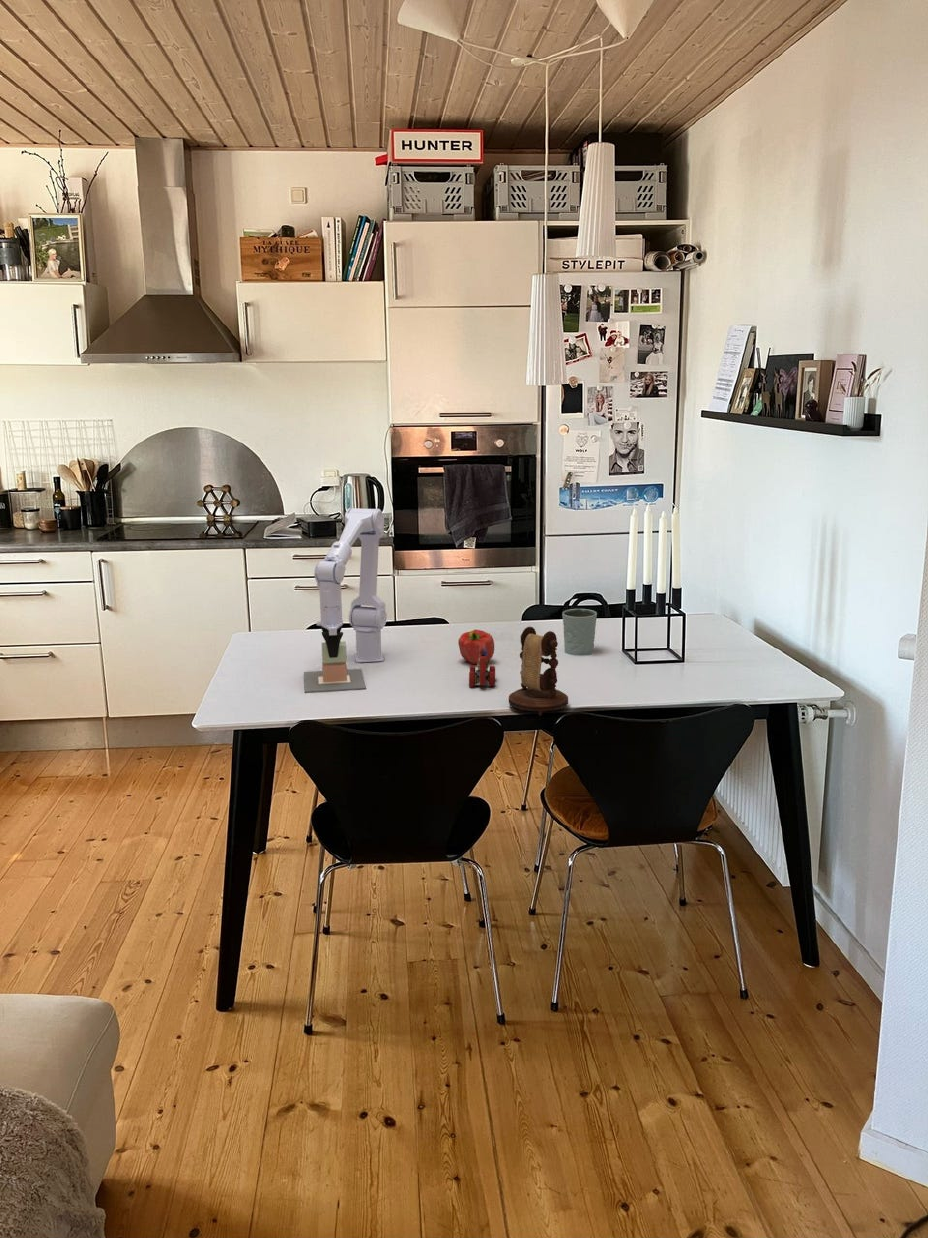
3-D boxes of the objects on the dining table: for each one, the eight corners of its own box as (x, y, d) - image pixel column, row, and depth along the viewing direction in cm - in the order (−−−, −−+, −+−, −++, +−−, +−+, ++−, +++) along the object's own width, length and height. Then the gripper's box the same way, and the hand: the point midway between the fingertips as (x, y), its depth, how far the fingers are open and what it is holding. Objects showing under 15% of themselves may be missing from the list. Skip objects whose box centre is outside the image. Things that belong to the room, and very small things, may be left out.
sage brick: (322, 658, 270) (321, 642, 269) (345, 657, 271) (345, 641, 270) (322, 663, 266) (321, 646, 265) (346, 661, 267) (346, 645, 266)
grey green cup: (595, 647, 300) (596, 608, 297) (596, 656, 290) (597, 616, 288) (561, 647, 301) (562, 608, 298) (561, 656, 291) (562, 616, 289)
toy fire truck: (468, 690, 261) (468, 652, 258) (469, 676, 273) (469, 640, 270) (495, 690, 260) (495, 652, 258) (495, 676, 272) (495, 640, 270)
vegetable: (487, 669, 279) (487, 634, 277) (452, 666, 283) (452, 632, 280) (498, 659, 289) (498, 625, 287) (465, 656, 293) (464, 623, 290)
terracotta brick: (322, 677, 271) (321, 661, 270) (346, 676, 272) (345, 660, 271) (323, 682, 267) (322, 666, 266) (347, 680, 268) (346, 664, 267)
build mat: (303, 673, 277) (303, 671, 277) (361, 670, 280) (361, 668, 280) (304, 693, 260) (304, 691, 260) (366, 689, 262) (366, 687, 262)
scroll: (496, 707, 247) (496, 629, 242) (535, 694, 257) (536, 618, 252) (541, 721, 237) (541, 640, 232) (580, 706, 247) (581, 628, 242)
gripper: (315, 600, 271) (317, 648, 274) (316, 612, 257) (318, 662, 260) (341, 599, 272) (343, 647, 275) (343, 611, 258) (345, 661, 262)
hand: (333, 654), depth 268 cm, fingers closed on sage brick, 4 cm apart
